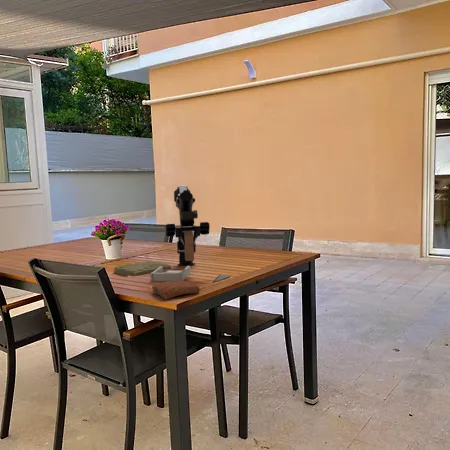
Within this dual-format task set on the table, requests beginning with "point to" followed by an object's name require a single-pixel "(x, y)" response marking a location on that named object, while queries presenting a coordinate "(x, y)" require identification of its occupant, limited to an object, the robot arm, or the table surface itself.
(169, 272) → the offcut
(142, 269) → the decorative tile
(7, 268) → the table surface
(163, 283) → the ceramic shard
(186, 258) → the brown rectangular block
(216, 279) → the mat
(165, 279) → the rack
